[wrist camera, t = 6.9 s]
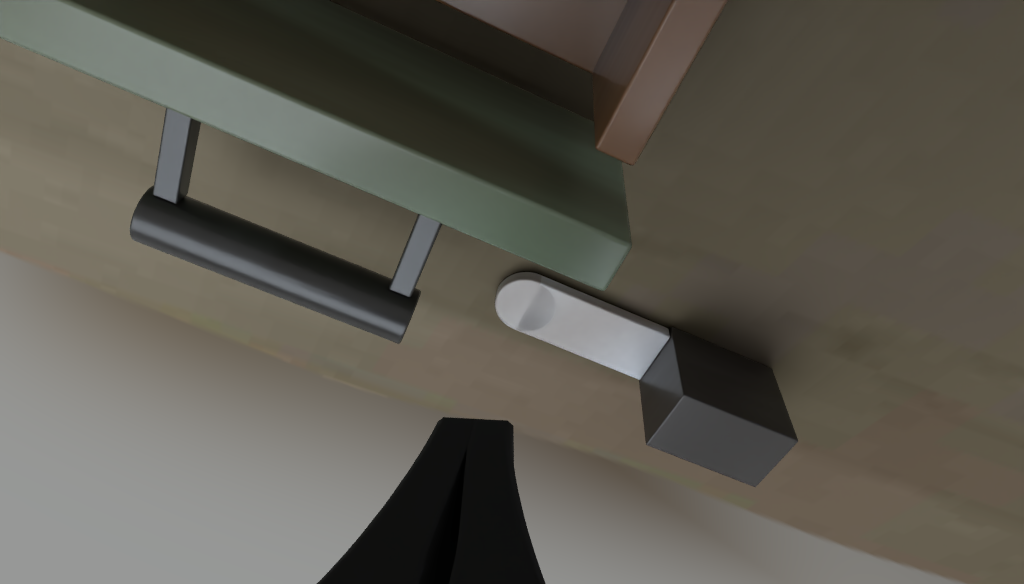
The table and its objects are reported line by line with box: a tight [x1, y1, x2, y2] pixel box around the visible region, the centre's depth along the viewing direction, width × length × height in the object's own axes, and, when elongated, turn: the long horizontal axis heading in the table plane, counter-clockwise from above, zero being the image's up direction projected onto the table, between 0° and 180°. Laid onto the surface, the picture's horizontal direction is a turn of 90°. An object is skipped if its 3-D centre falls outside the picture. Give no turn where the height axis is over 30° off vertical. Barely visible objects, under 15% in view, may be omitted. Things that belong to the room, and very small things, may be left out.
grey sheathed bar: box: [495, 272, 798, 487], centre depth 22 cm, size 9×2×3 cm, turn 67°
